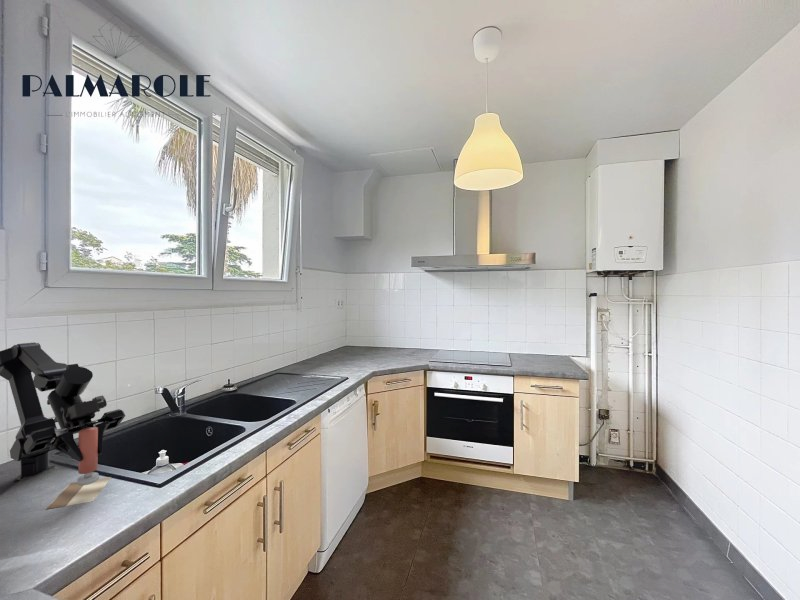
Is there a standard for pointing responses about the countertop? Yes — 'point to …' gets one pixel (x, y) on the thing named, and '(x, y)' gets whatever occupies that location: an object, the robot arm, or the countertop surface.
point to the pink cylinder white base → (88, 456)
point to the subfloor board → (78, 493)
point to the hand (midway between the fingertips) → (91, 457)
